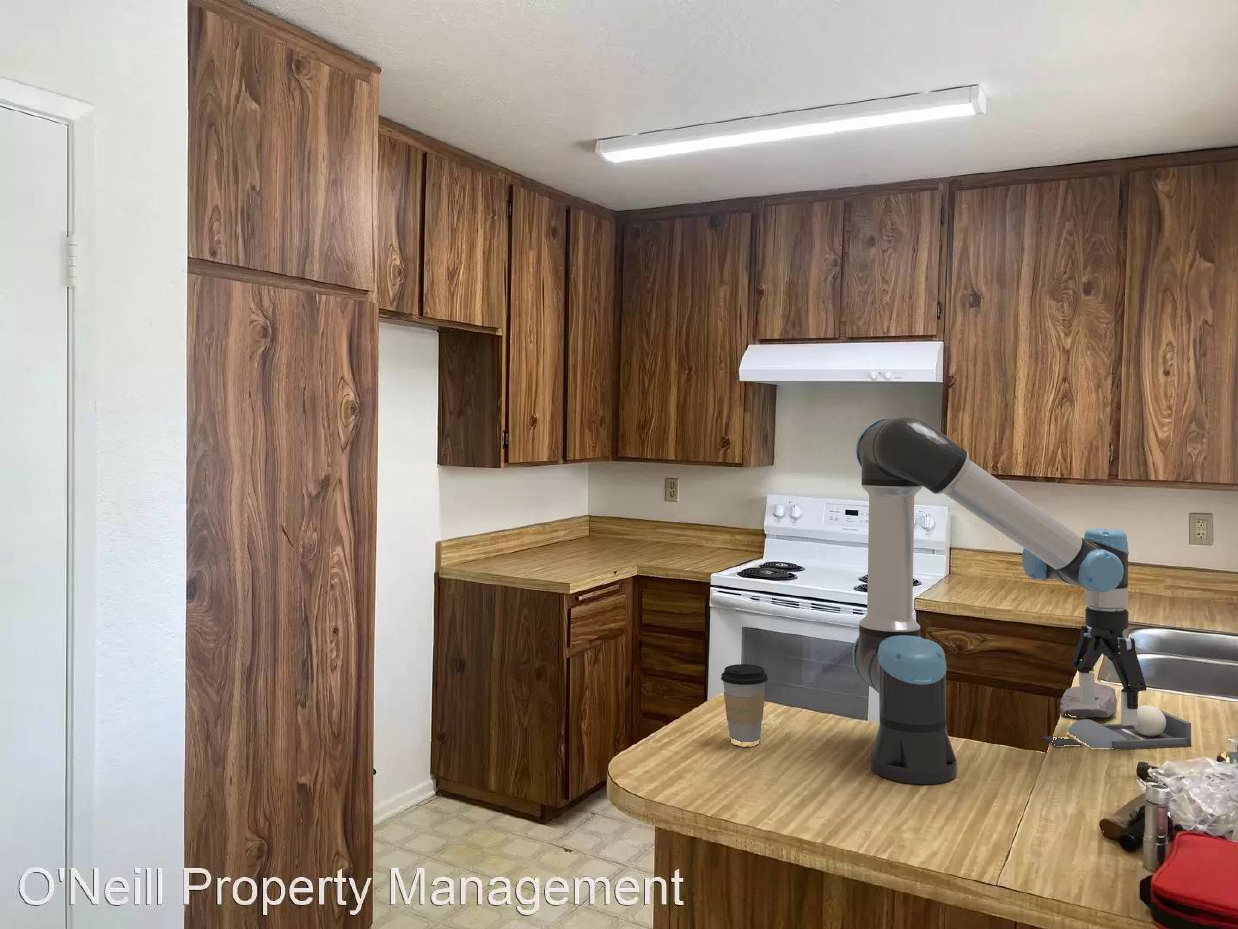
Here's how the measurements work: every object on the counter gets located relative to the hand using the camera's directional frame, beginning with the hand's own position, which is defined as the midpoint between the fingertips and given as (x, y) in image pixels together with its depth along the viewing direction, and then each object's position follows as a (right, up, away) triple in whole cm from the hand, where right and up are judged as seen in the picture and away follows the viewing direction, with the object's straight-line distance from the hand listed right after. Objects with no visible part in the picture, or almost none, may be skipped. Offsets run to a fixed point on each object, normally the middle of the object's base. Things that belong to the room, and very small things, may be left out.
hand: (1107, 714), depth 180 cm
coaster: (-9, -5, -1) cm, 11 cm away
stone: (+6, -5, +17) cm, 19 cm away
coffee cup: (-71, -7, +3) cm, 72 cm away
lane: (+6, -5, +1) cm, 8 cm away
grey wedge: (-2, -10, 0) cm, 10 cm away
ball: (+9, -1, +1) cm, 9 cm away
